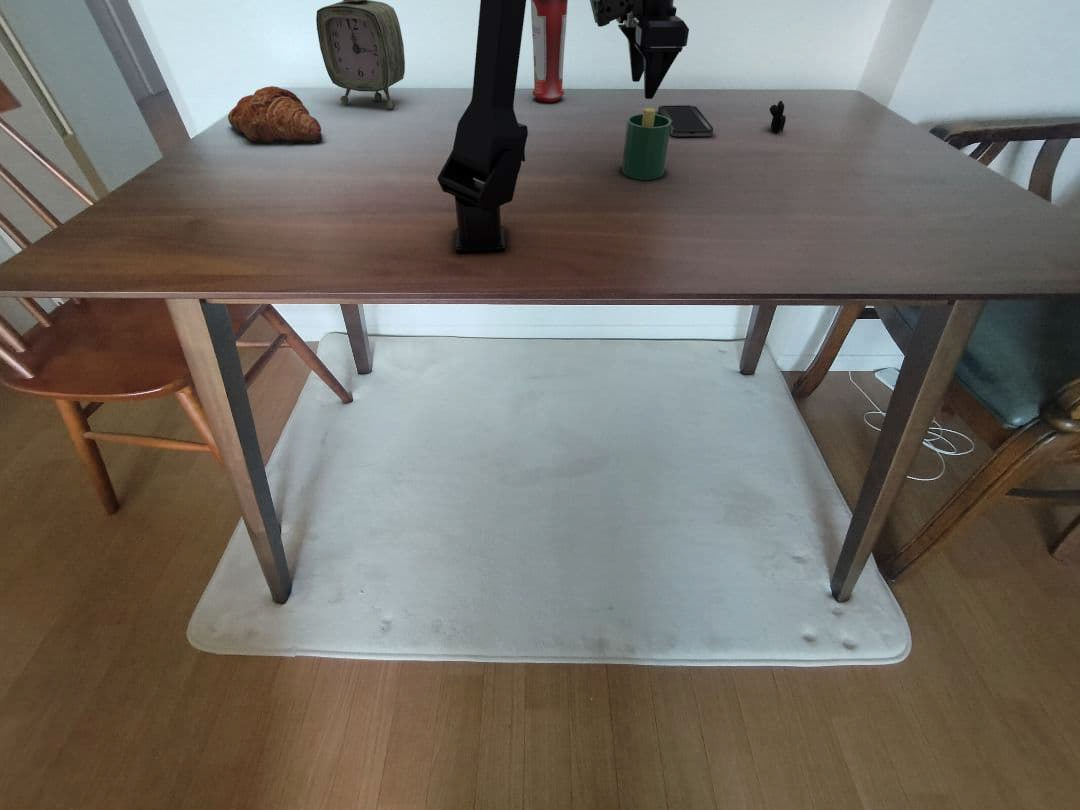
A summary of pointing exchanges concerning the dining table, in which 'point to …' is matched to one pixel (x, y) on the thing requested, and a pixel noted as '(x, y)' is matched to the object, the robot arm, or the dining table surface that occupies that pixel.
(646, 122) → the yellow rod
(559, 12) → the liquor
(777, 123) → the black figurine
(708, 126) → the phone
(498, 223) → the robot arm
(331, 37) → the tabletop clock
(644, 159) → the cup
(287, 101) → the pastry
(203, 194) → the dining table surface
